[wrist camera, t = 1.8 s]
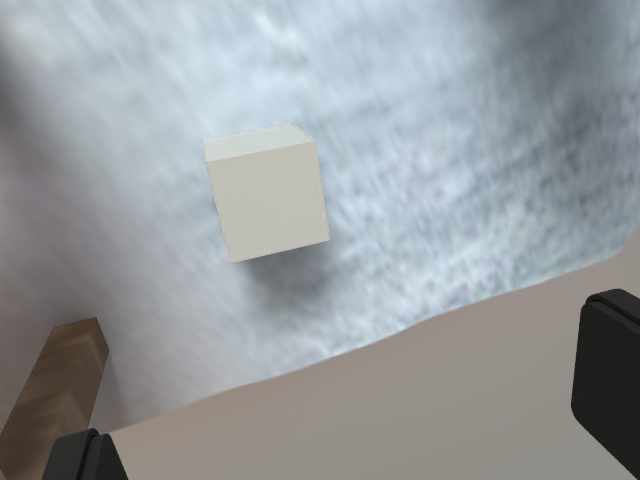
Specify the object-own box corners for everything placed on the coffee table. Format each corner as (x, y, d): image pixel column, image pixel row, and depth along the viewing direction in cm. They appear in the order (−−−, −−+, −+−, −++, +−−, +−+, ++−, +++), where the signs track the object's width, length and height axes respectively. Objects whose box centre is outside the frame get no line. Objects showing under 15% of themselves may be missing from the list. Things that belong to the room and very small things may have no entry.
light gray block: (290, 122, 27) (315, 140, 22) (304, 204, 29) (330, 240, 24) (202, 138, 26) (205, 162, 21) (223, 222, 28) (230, 263, 23)
